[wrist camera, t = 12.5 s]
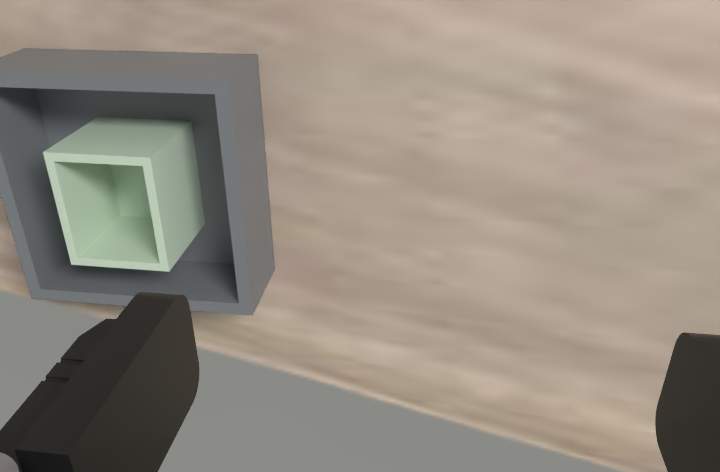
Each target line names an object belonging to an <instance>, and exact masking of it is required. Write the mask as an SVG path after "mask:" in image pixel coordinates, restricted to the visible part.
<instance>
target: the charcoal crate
mask: <svg viewBox="0 0 720 472" xmlns="http://www.w3.org/2000/svg"><path fill="white" fill-rule="evenodd" d="M97 117H111V118H134V119H156V120H179V121H192V128H193V136H194V143H195V151H196V159H197V166H198V174H199V182H200V189H201V197H202V205H203V212H204V220H205V225H204V226H203V227H202V229H201V230H200V231H199V233H198V234H197V235H196V237H195V238H194V239H193V241H192V242H191V243H190V245H189V246H188V247H187V249H186V250H185V251H184V253H183V254H182V255H181V257H180V258H179V259H178V261H177V262H176V263H175V265H174V266H173V267H172V269H171V270H170V272H166V271H153V270H139V269H125V268H111V267H97V266H83V265H71V262H70V258H69V254H68V250H67V246H66V242H65V238H64V234H63V230H62V226H61V222H60V218H59V214H58V210H57V206H56V202H55V198H54V194H53V190H52V186H51V182H50V178H49V174H48V171H47V167H46V163H45V159H44V155H43V152H44V151H46V150H47V149H49V148H50V147H52V146H53V145H55V144H56V143H58V142H59V141H61V140H63V139H64V138H66V137H67V136H69V135H70V134H72V133H73V132H75V131H77V130H78V129H80V128H81V127H83V126H84V125H86V124H87V123H89V122H91V121H92V120H94V119H95V118H97ZM0 195H1V198H2V201H3V205H4V208H5V211H6V215H7V218H8V221H9V225H10V228H11V231H12V235H13V238H14V241H15V245H16V248H17V251H18V255H19V258H20V261H21V264H22V268H23V271H24V274H25V278H26V281H27V284H28V288H29V291H30V294H31V298H32V299H41V300H55V301H68V302H81V303H95V304H108V305H121V306H127V305H128V304H129V303H130V301H131V300H132V299H133V297H134V296H135V295H136V294H138V293H139V292H150V293H163V294H177V295H184V296H185V297H186V298H187V300H188V302H189V306H190V311H201V312H214V313H228V314H241V315H253V314H254V312H255V309H256V307H257V305H258V303H259V301H260V299H261V297H262V295H263V293H264V290H265V288H266V286H267V284H268V282H269V280H270V278H271V276H272V274H273V272H274V269H275V266H274V254H273V241H272V229H271V216H270V204H269V191H268V179H267V167H266V154H265V142H264V129H263V117H262V105H261V92H260V80H259V67H258V55H255V54H216V53H178V52H139V51H100V50H62V49H21V50H19V51H16V52H13V53H11V54H8V55H5V56H3V57H0Z"/></svg>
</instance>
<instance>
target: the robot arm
mask: <svg viewBox="0 0 720 472" xmlns="http://www.w3.org/2000/svg"><path fill="white" fill-rule="evenodd" d="M198 382H199V362H198V356H197V349H196V343H195V337H194V331H193V324H192V318H191V312H190V306H189V302H188V300H187V298H186V297H185V296H184V295H177V294H163V293H150V292H139V293H138V294H136V295H135V296H134V297H133V299H132V300H131V301H130V303H129V304H128V305H127V306H126V308H125V309H124V310H123V311H122V313H121V314H120V315H119V317H118V318H117V319H105V320H104V321H102V322H101V323H99V324H97V325H96V326H94V327H93V328H92V329H90V330H89V331H87V332H85V333H84V334H82V335H81V336H79V337H78V338H77V340H76V341H75V342H74V343H73V344H72V346H71V347H70V348H69V349H68V351H67V352H66V353H65V354H64V355H63V357H62V358H61V362H60V363H56V365H55V366H54V367H53V368H52V369H51V371H50V372H49V373H48V374H47V375H46V380H45V381H41V383H40V384H39V385H38V386H37V387H36V389H35V390H34V391H33V392H32V393H31V395H30V396H29V397H28V398H27V399H26V400H25V402H24V403H23V404H22V405H21V406H20V408H19V409H18V410H17V411H16V412H15V414H14V415H13V416H12V417H11V418H10V420H9V421H8V422H7V423H6V424H5V426H4V427H3V428H2V429H1V430H0V472H158V470H159V468H160V466H161V464H162V462H163V460H164V458H165V456H166V454H167V452H168V450H169V448H170V446H171V445H172V442H173V441H174V438H175V437H176V435H177V433H178V431H179V429H180V427H181V425H182V423H183V421H184V419H185V417H186V415H187V413H188V411H189V409H190V407H191V405H192V403H193V401H194V399H195V396H196V392H197V388H198ZM656 436H657V441H658V445H659V449H660V451H661V454H662V457H663V460H664V463H665V465H666V468H667V471H668V472H720V335H710V334H696V333H682V334H681V335H680V336H679V337H678V339H677V341H676V343H675V346H674V350H673V353H672V357H671V360H670V364H669V367H668V370H667V374H666V377H665V381H664V384H663V388H662V391H661V395H660V398H659V401H658V405H657V410H656Z"/></svg>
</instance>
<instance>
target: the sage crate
mask: <svg viewBox="0 0 720 472" xmlns="http://www.w3.org/2000/svg"><path fill="white" fill-rule="evenodd" d="M43 155H44V159H45V163H46V167H47V171H48V174H49V178H50V182H51V186H52V190H53V194H54V198H55V202H56V206H57V210H58V214H59V218H60V222H61V226H62V230H63V234H64V238H65V242H66V246H67V250H68V254H69V258H70V262H71V265H83V266H97V267H111V268H125V269H139V270H153V271H166V272H170V270H171V269H172V267H173V266H174V265H175V263H176V262H177V261H178V259H179V258H180V257H181V255H182V254H183V253H184V251H185V250H186V249H187V247H188V246H189V245H190V243H191V242H192V241H193V239H194V238H195V237H196V235H197V234H198V233H199V231H200V230H201V229H202V227H203V226H204V225H205V220H204V212H203V205H202V197H201V189H200V182H199V174H198V166H197V159H196V151H195V143H194V136H193V128H192V121H179V120H156V119H134V118H111V117H97V118H95V119H94V120H92V121H91V122H89V123H87V124H86V125H84V126H83V127H81V128H80V129H78V130H77V131H75V132H73V133H72V134H70V135H69V136H67V137H66V138H64V139H63V140H61V141H59V142H58V143H56V144H55V145H53V146H52V147H50V148H49V149H47V150H46V151H44V152H43Z"/></svg>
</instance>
